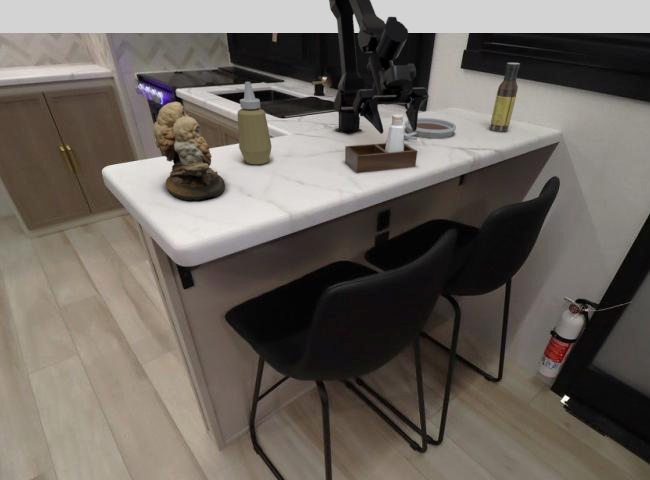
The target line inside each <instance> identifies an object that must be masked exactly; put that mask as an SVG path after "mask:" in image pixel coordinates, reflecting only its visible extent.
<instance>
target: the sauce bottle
mask: <svg viewBox="0 0 650 480" xmlns="http://www.w3.org/2000/svg"><path fill="white" fill-rule="evenodd" d="M520 66H521V62H520V63H519V62H507V63H506V65H505V74H504V76H503V80H502V82H501V83H500V84H499V86H498V88H497V92H496V95H495V100H494V106H493V110H492V115H491V120H490V126H489V129H490V130H491V131H493V132H497V133H504V132H507V131H508V130H509V126H510V123H511V120H512V117H513V112H514V107H515V103H516V100H517V93H518V90H519V89H518V88H519V87H518V83H517V78H518V72H519V70H520Z"/></svg>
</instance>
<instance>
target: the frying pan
mask: <svg viewBox="0 0 650 480" xmlns="http://www.w3.org/2000/svg"><path fill="white" fill-rule="evenodd" d="M404 127H405V130H406V134H404V140H410V141H418V137H419V138H426V139H445V138H449V137H452V136H453V134H454V132H455V131H456V130H457V126H456V124H455V123H454V122H452V121H449V120H445V119H442V118H441V119H440V118H432V117H418V119H417V129H416V131H413V130H412V128H411V125H410V123H409V120H408V119H407V120H406V121H405V122H404Z"/></svg>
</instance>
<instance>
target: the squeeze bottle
mask: <svg viewBox="0 0 650 480" xmlns="http://www.w3.org/2000/svg"><path fill="white" fill-rule="evenodd" d="M239 105H240V109H239V110H238V111H237V129H238V149H239V151H240V153H241V155H242V157H243V159H244V161H245V163H246V164H249V165H264V164H267V163H269V161H270V157H271V153H272V152H271V151H272V141H271V135H270V130H269V125H268V120H267V115H266V111H265V110H264V109H262V108H261V107H262V105H261V100H260V99H259V98H256V96H255V92H254V89H253V86H252V84H251V81H245V82H244V95H243V98H241V99H239Z"/></svg>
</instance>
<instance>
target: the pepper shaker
mask: <svg viewBox="0 0 650 480" xmlns="http://www.w3.org/2000/svg"><path fill="white" fill-rule="evenodd" d="M391 118H392V119H391V124H390V125H389V127H388V131H387V137H386V142H385V143H386V147H385V151H387V152H388V153H389V152H400V151H404V143H405V138H404V135H405V125H403V120H404V115H403V114H401V113H393V114H392V115H391Z"/></svg>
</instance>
